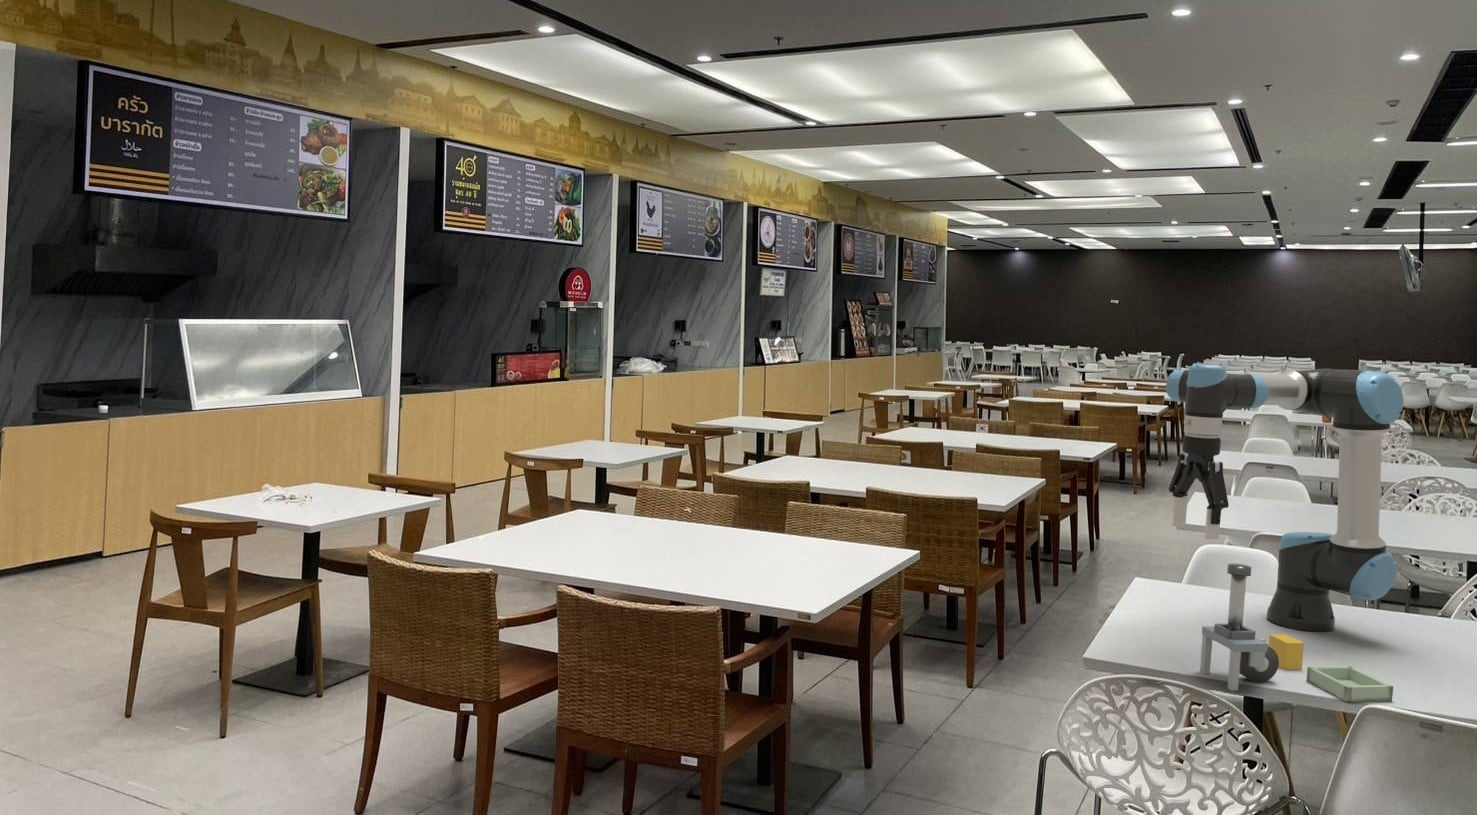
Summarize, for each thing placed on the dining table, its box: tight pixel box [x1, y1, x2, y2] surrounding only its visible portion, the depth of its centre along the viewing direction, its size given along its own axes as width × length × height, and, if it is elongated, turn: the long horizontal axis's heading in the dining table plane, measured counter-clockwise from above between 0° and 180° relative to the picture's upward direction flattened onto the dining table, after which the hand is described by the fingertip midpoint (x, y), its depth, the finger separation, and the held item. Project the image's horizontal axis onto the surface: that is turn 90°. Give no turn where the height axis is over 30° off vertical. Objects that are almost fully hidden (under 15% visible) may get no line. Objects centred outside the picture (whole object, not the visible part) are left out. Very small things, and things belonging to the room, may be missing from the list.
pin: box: [1226, 563, 1252, 631], centre depth 218 cm, size 4×4×15 cm
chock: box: [1268, 633, 1305, 671], centre depth 231 cm, size 4×6×6 cm, turn 8°
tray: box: [1306, 665, 1394, 703], centre depth 216 cm, size 10×12×3 cm
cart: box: [1199, 623, 1279, 692], centre depth 220 cm, size 12×13×11 cm
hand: (1194, 532), depth 230 cm, fingers open, 13 cm apart
